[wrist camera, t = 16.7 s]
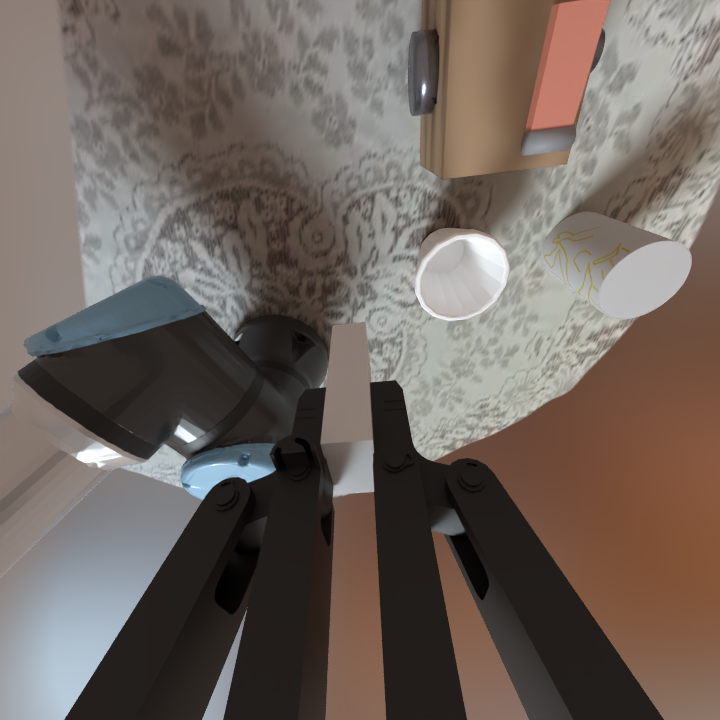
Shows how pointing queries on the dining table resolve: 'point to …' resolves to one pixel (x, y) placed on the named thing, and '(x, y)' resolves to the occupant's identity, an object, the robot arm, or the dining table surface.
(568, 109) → the keeper tab
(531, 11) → the block
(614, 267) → the cup
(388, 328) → the dining table surface
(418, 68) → the hitch pin
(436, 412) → the dining table surface
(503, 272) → the cup
